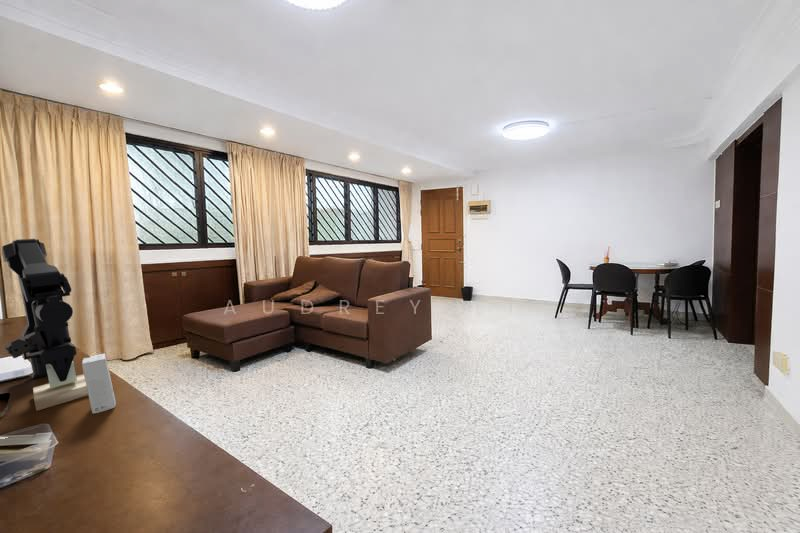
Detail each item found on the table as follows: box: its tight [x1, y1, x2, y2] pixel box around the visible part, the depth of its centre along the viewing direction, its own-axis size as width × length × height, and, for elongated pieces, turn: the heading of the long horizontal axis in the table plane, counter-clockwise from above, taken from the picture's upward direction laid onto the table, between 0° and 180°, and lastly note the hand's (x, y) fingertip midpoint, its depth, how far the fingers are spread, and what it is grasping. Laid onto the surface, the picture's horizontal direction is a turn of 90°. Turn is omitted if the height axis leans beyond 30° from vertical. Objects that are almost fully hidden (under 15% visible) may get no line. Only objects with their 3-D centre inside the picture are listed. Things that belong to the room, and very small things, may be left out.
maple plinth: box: [32, 373, 88, 411], centre depth 93 cm, size 12×11×2 cm
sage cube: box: [46, 360, 77, 388], centre depth 92 cm, size 5×5×5 cm
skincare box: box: [81, 352, 117, 414], centre depth 84 cm, size 6×4×12 cm
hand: (62, 378), depth 93 cm, fingers closed on sage cube, 5 cm apart
